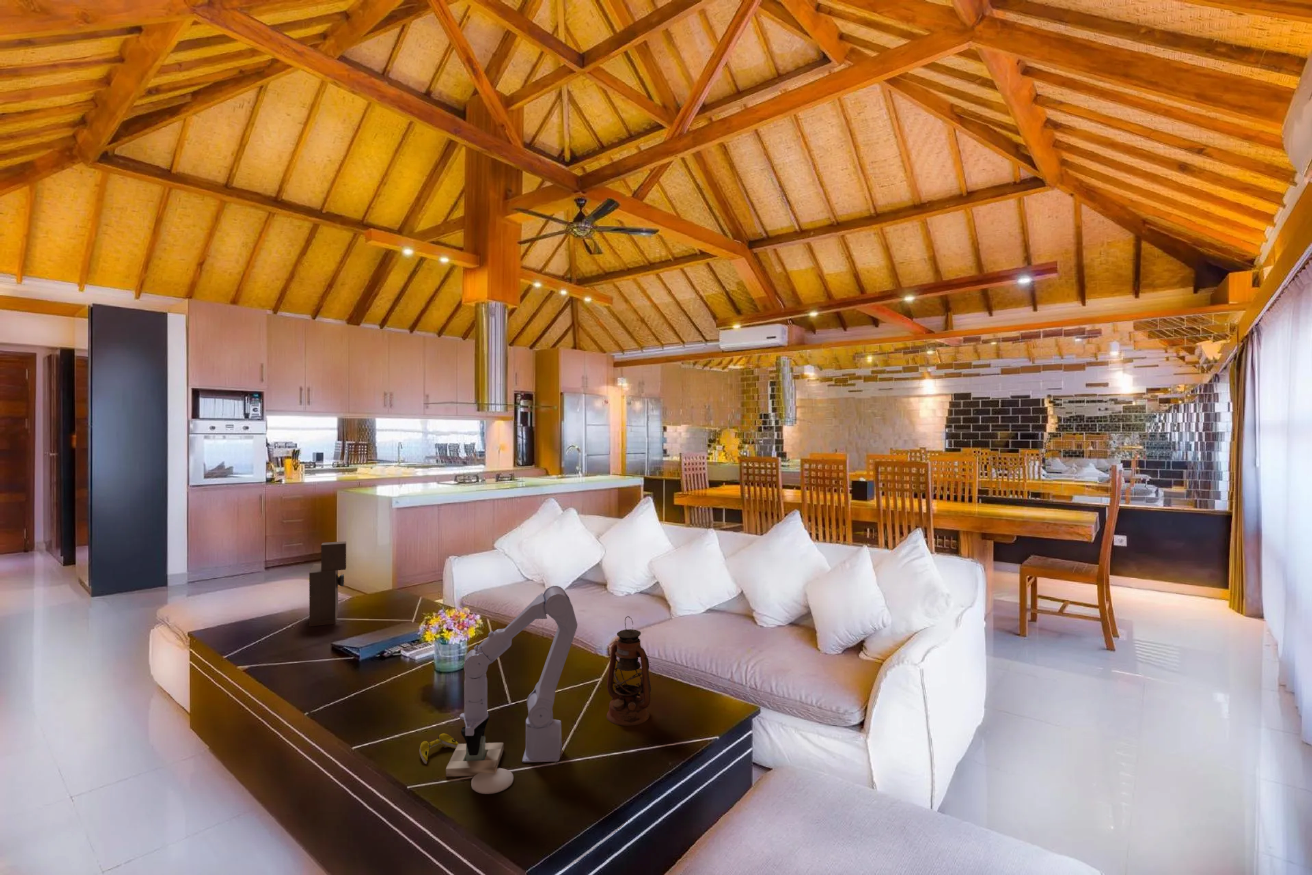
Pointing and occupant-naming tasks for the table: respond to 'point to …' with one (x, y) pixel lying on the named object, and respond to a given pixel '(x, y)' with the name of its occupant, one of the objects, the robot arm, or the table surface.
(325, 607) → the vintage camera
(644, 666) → the lantern
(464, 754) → the board
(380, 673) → the table surface
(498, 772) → the coaster
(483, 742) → the block
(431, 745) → the game controller
